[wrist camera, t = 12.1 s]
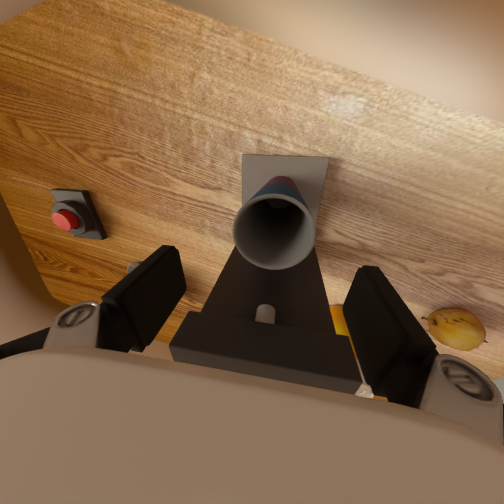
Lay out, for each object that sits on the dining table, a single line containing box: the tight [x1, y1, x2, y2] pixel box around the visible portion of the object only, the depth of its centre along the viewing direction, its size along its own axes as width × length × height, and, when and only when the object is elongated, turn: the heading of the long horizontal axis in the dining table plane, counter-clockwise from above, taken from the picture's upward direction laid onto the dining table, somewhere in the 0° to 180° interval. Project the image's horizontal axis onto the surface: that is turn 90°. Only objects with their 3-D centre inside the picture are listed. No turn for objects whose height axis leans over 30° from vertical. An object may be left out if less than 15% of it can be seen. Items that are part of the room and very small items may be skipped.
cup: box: [233, 176, 317, 270], centre depth 21 cm, size 7×7×15 cm
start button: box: [52, 210, 79, 231], centre depth 35 cm, size 4×4×2 cm
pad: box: [50, 189, 107, 240], centre depth 37 cm, size 10×7×3 cm
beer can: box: [329, 305, 374, 398], centre depth 33 cm, size 6×6×15 cm
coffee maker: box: [169, 154, 363, 395], centre depth 20 cm, size 17×12×24 cm
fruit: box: [422, 308, 488, 351], centre depth 32 cm, size 7×7×10 cm
